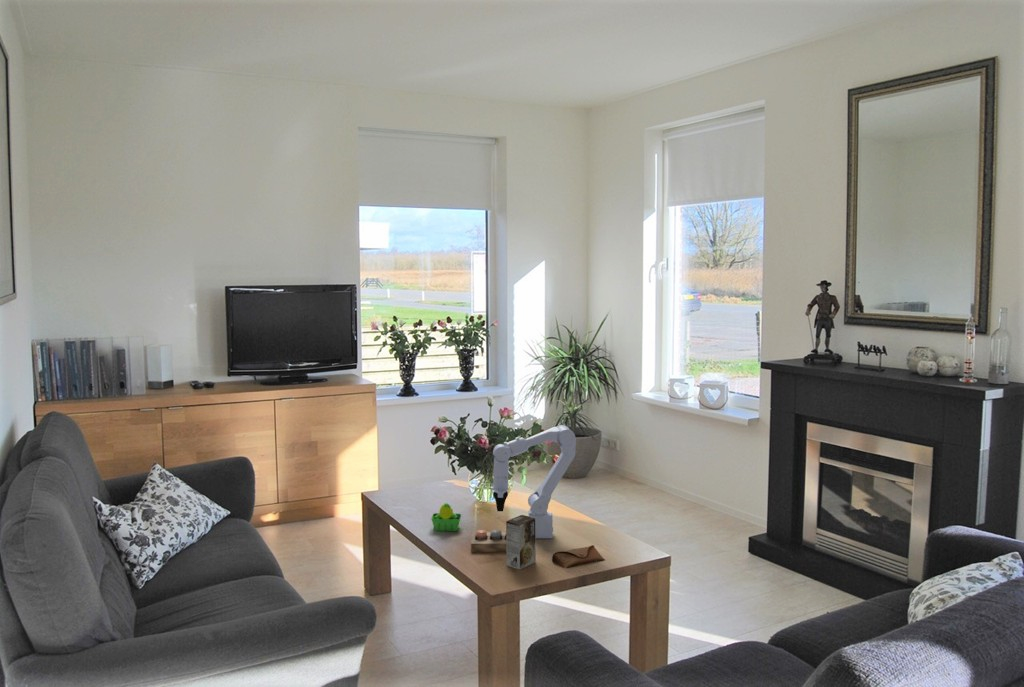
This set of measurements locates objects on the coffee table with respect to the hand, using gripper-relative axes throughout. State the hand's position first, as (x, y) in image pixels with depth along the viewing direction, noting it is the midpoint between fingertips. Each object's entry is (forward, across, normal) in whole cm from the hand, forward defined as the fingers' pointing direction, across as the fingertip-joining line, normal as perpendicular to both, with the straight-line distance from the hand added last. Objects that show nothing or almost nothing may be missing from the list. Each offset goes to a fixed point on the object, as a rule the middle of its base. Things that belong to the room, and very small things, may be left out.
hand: (500, 510), depth 310 cm
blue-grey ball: (+9, +9, -1) cm, 13 cm away
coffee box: (+11, +28, +8) cm, 31 cm away
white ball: (+9, +9, +4) cm, 13 cm away
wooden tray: (+10, +9, -1) cm, 14 cm away
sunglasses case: (+10, +25, +28) cm, 39 cm away
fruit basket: (+11, -10, -21) cm, 26 cm away
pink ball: (+9, +9, -7) cm, 14 cm away
